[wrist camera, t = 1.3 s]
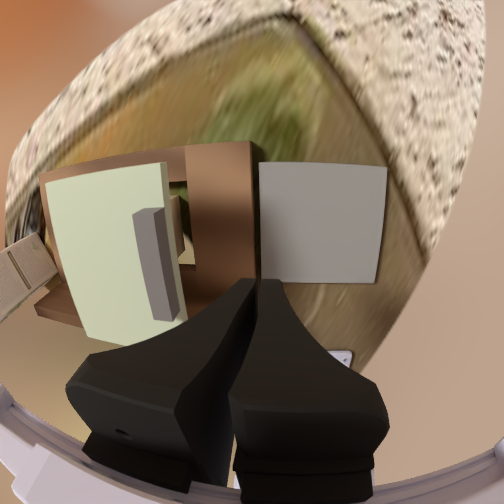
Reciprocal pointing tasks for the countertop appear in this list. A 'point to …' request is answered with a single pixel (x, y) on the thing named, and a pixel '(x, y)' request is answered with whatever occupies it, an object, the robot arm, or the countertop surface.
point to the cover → (119, 251)
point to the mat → (321, 221)
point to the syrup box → (23, 272)
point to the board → (201, 216)
